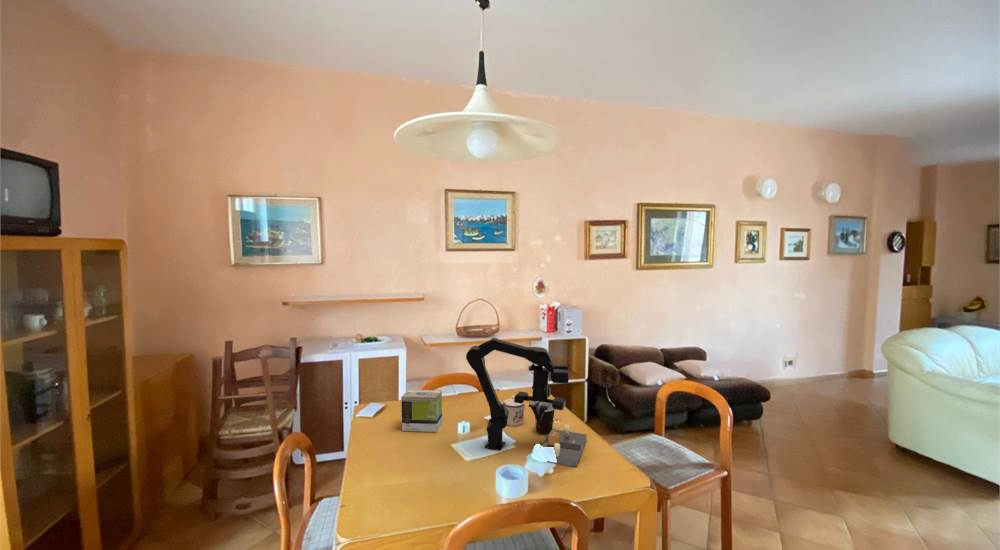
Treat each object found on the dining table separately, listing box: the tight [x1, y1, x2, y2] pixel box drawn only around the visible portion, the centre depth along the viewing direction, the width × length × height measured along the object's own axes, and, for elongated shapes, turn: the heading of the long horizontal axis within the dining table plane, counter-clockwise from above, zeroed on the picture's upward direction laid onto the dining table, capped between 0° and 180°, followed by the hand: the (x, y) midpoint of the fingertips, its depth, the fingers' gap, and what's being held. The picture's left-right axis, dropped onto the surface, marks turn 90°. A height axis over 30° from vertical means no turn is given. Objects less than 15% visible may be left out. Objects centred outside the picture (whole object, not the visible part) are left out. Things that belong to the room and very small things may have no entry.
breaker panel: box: [541, 428, 587, 468], centre depth 156 cm, size 22×14×3 cm, turn 159°
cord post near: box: [554, 443, 560, 457], centre depth 146 cm, size 2×2×4 cm
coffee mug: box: [534, 403, 556, 436], centre depth 174 cm, size 12×9×10 cm
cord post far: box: [563, 424, 570, 437], centre depth 162 cm, size 2×2×4 cm
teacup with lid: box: [502, 395, 526, 427], centre depth 182 cm, size 12×9×12 cm
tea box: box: [400, 389, 443, 433], centre depth 176 cm, size 15×10×15 cm
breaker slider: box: [549, 432, 560, 445], centre depth 155 cm, size 4×4×4 cm
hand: (539, 422), depth 157 cm, fingers closed
